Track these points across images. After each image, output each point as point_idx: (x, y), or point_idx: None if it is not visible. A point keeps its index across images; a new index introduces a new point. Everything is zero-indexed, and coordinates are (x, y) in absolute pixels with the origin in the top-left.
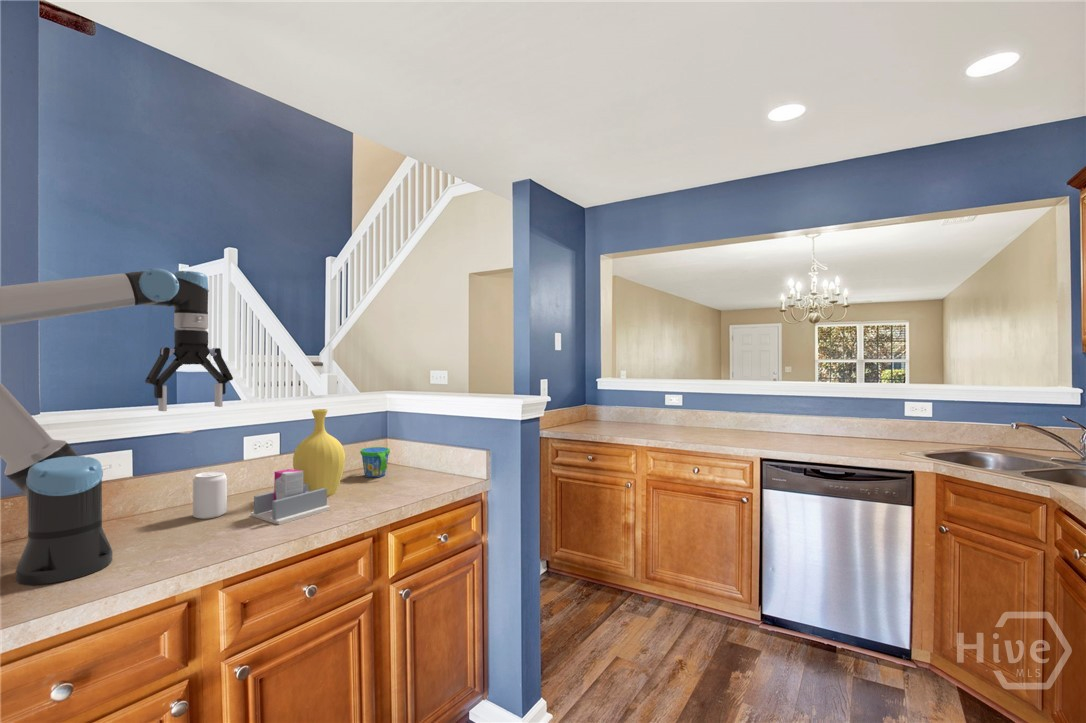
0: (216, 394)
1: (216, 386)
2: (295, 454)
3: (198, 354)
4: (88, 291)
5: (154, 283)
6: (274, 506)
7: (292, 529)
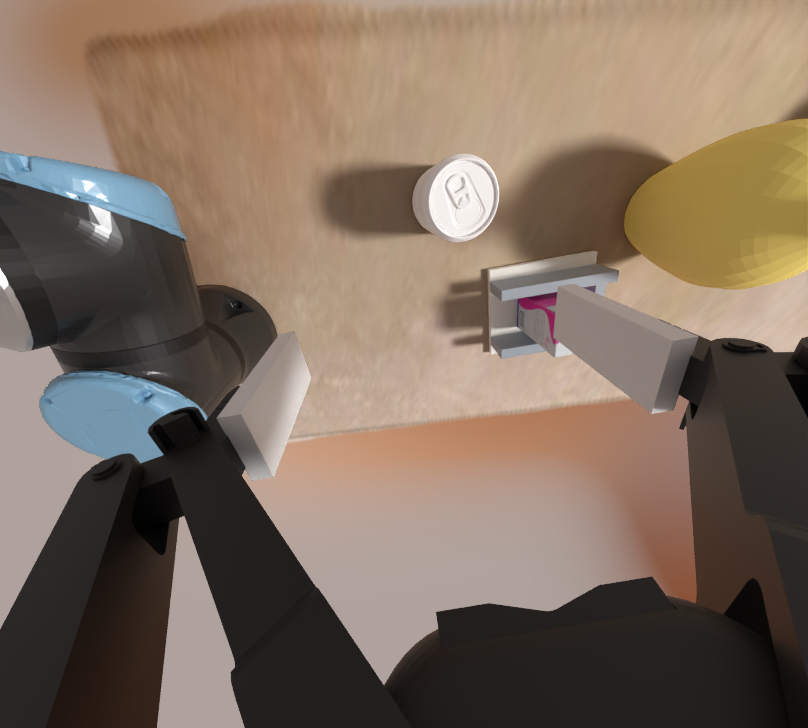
0: (598, 333)
1: (642, 358)
2: (707, 205)
3: None
4: None
5: None
6: (498, 351)
7: (488, 382)
